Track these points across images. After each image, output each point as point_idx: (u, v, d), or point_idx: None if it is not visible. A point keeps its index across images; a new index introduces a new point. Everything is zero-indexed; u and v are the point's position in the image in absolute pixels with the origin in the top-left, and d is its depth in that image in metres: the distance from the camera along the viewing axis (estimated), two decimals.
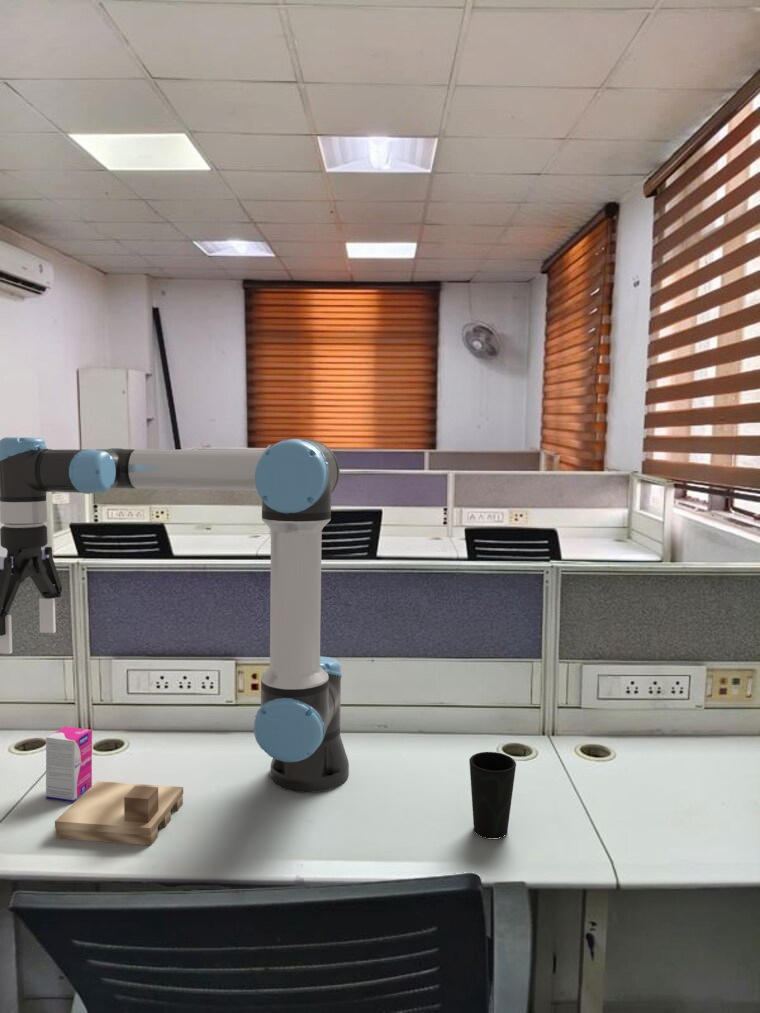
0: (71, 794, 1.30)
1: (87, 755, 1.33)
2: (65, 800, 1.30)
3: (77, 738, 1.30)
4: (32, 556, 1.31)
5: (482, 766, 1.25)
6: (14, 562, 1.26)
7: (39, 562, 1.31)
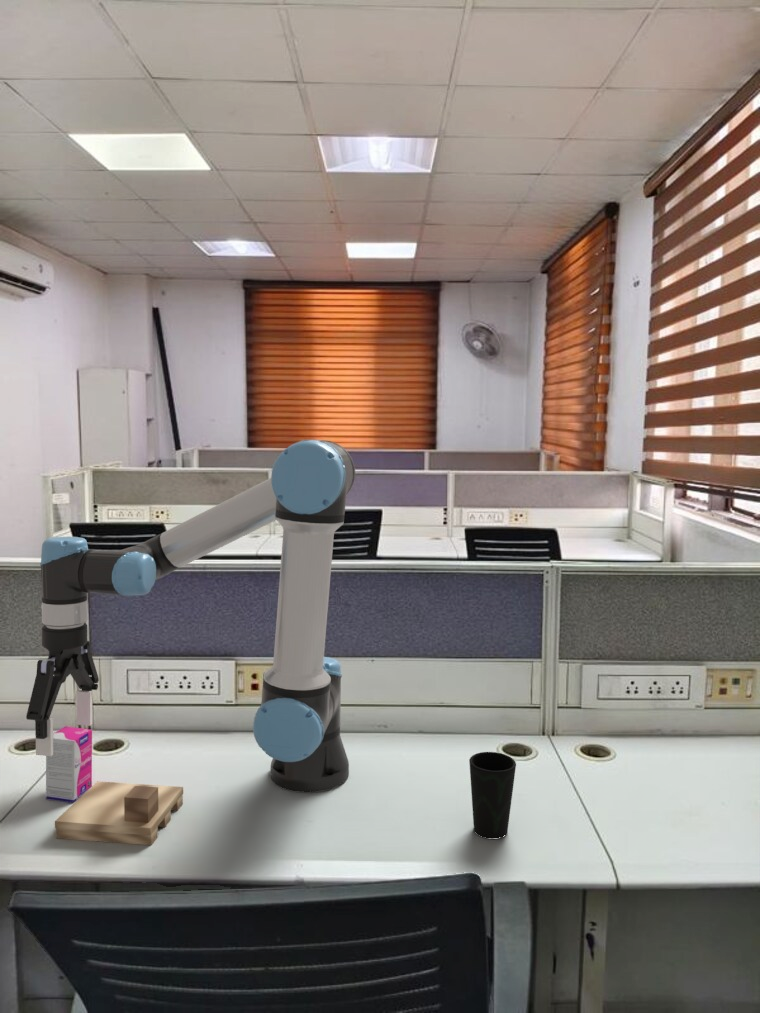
0: (71, 794, 1.30)
1: (87, 755, 1.33)
2: (65, 800, 1.30)
3: (78, 738, 1.30)
4: (72, 654, 1.32)
5: (482, 766, 1.25)
6: (56, 664, 1.27)
7: (79, 660, 1.32)
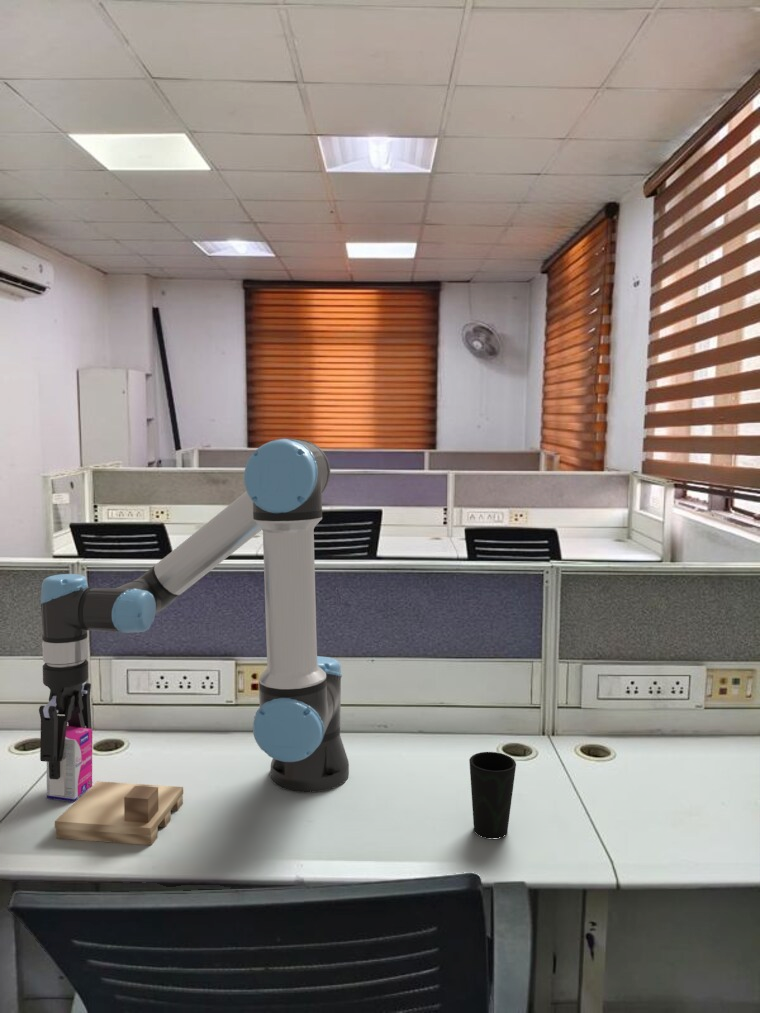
0: (71, 793, 1.30)
1: (88, 754, 1.33)
2: (66, 799, 1.30)
3: (78, 737, 1.30)
4: (74, 691, 1.32)
5: (482, 766, 1.25)
6: (57, 702, 1.28)
7: (80, 696, 1.33)
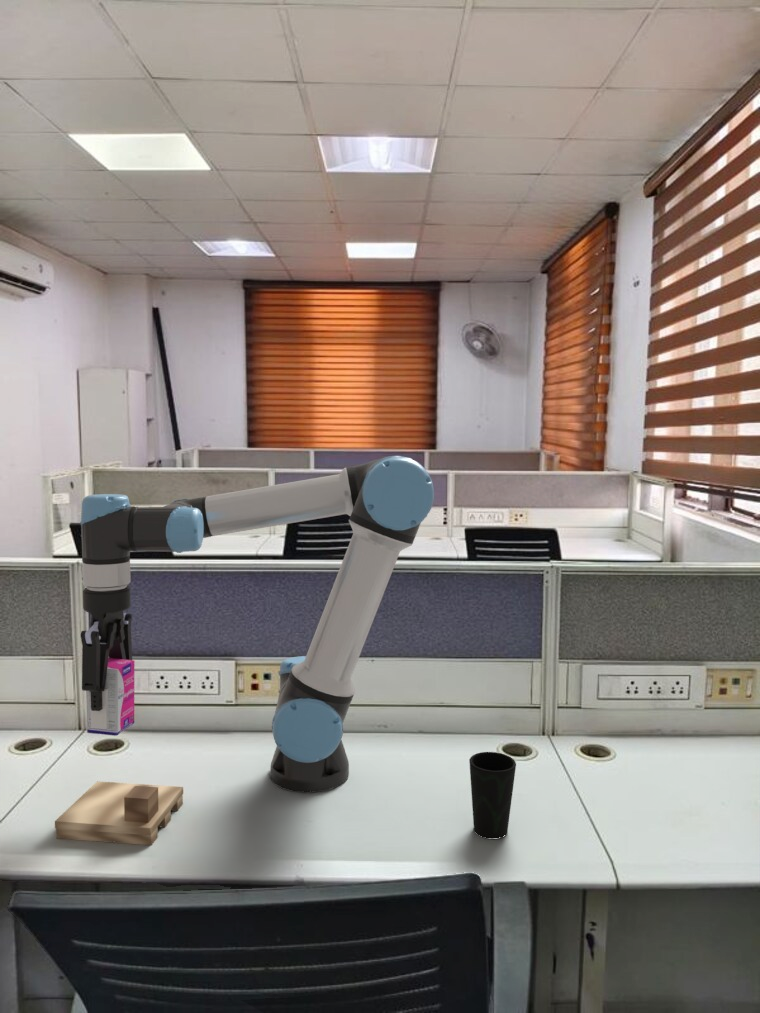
0: (114, 726, 1.22)
1: (130, 687, 1.25)
2: (108, 733, 1.22)
3: (121, 667, 1.22)
4: (115, 619, 1.24)
5: (482, 766, 1.25)
6: (99, 628, 1.19)
7: (122, 625, 1.25)
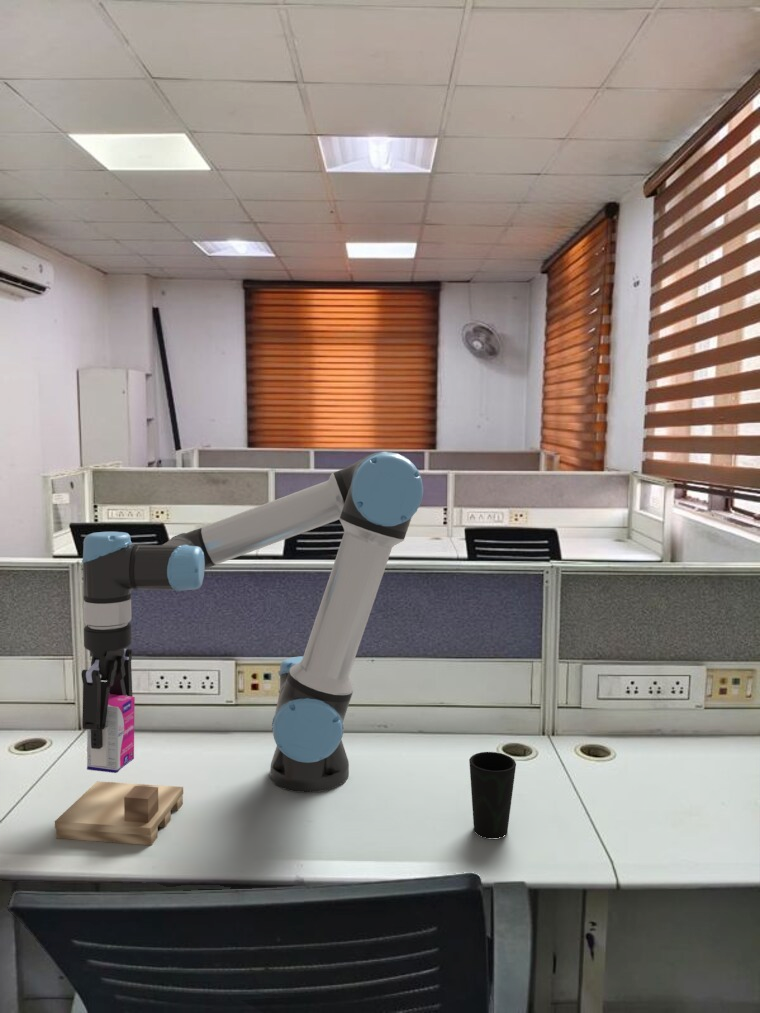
0: (114, 764, 1.22)
1: (130, 724, 1.26)
2: (108, 770, 1.22)
3: (121, 704, 1.23)
4: (116, 656, 1.25)
5: (482, 766, 1.25)
6: (100, 666, 1.20)
7: (122, 662, 1.25)
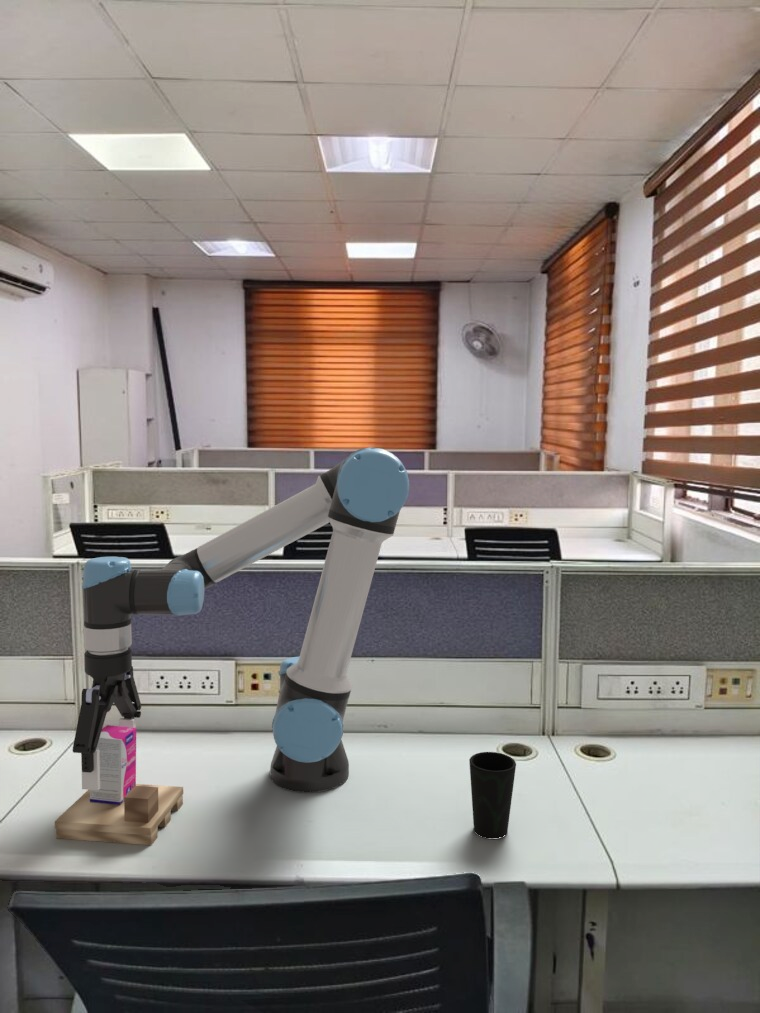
0: (117, 796, 1.23)
1: (132, 755, 1.27)
2: (111, 802, 1.23)
3: (124, 736, 1.24)
4: (116, 680, 1.25)
5: (482, 766, 1.25)
6: (101, 692, 1.20)
7: (123, 686, 1.26)
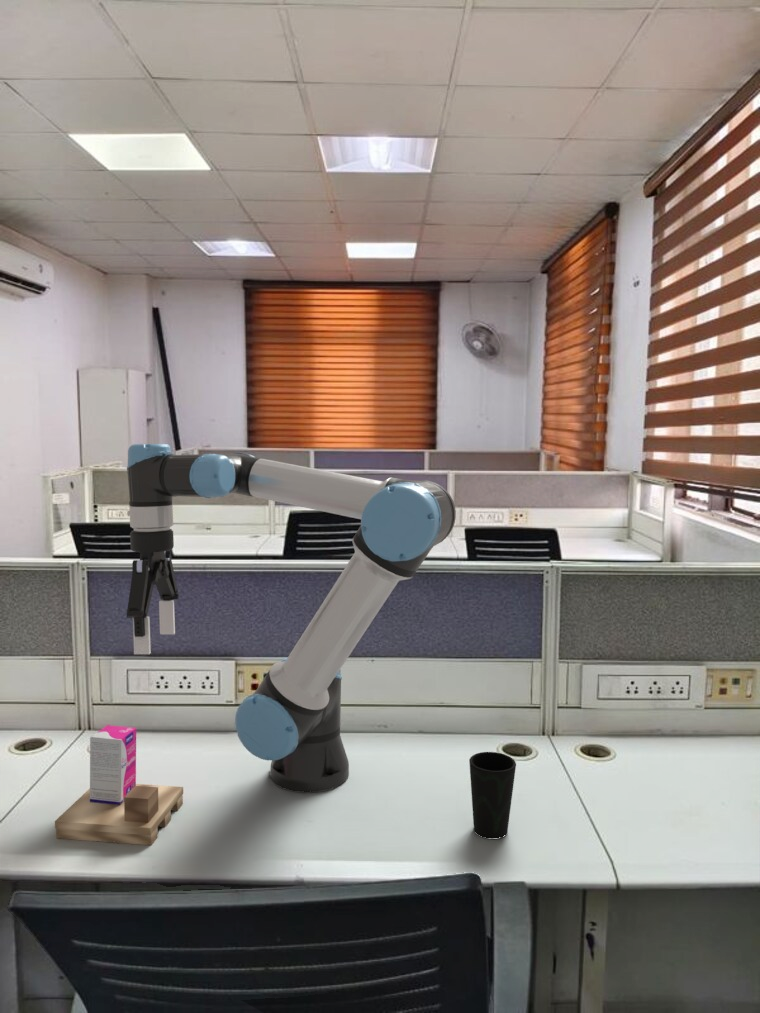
0: (117, 796, 1.23)
1: (132, 755, 1.27)
2: (111, 802, 1.23)
3: (124, 736, 1.24)
4: (160, 559, 1.34)
5: (482, 766, 1.25)
6: (148, 565, 1.29)
7: (165, 565, 1.35)
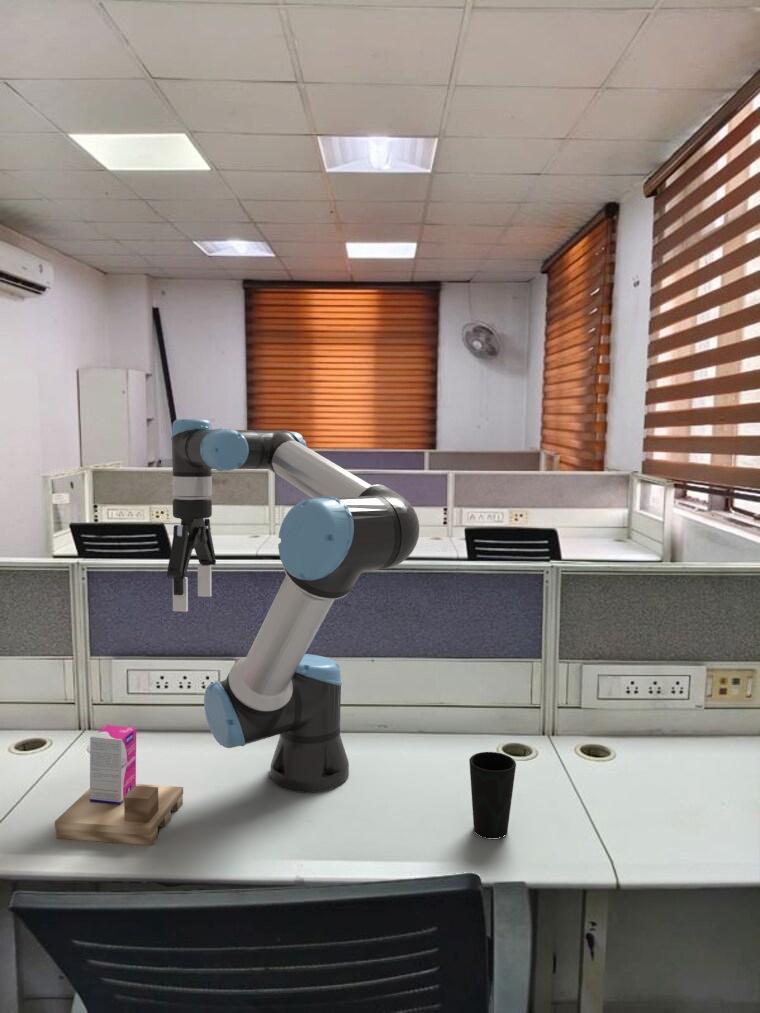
0: (117, 796, 1.23)
1: (132, 755, 1.27)
2: (111, 802, 1.23)
3: (124, 736, 1.24)
4: (199, 526, 1.46)
5: (482, 766, 1.25)
6: (188, 530, 1.41)
7: (204, 531, 1.47)
